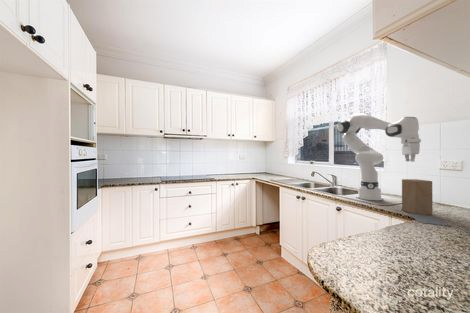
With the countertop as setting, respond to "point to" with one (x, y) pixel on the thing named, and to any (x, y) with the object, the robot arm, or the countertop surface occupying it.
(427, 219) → the mat
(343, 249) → the countertop surface
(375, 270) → the countertop surface
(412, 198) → the wooden block
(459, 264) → the countertop surface
